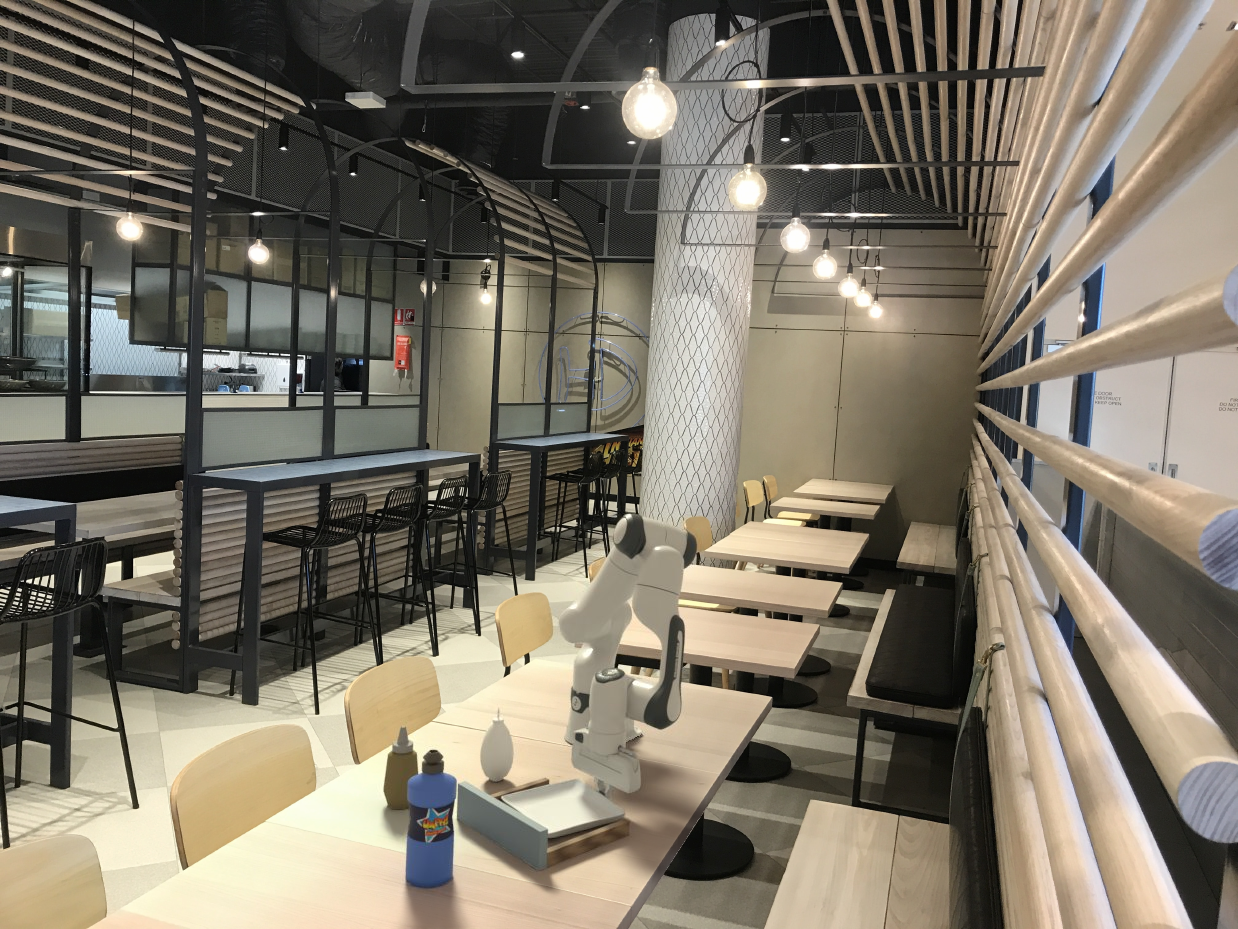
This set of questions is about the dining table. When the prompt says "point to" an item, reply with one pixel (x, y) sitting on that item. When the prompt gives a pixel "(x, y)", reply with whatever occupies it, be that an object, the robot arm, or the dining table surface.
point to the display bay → (525, 827)
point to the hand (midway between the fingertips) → (604, 798)
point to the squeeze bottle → (400, 771)
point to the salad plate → (565, 807)
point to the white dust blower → (497, 750)
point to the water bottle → (430, 824)
